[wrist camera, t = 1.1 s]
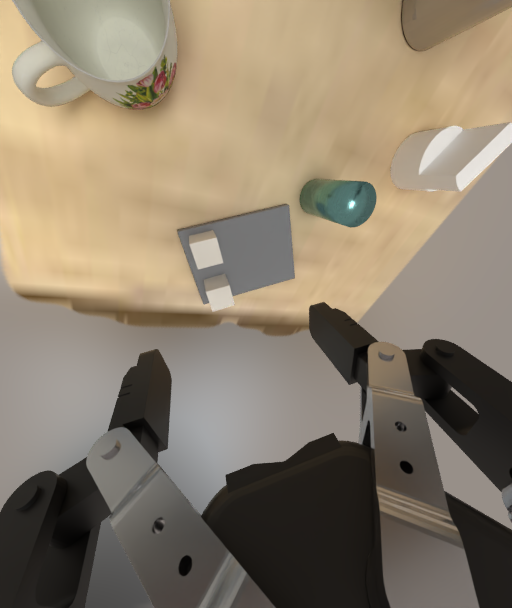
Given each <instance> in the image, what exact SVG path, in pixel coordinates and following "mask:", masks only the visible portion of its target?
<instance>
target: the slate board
mask: <svg viewBox="0 0 512 608" xmlns="http://www.w3.org/2000/svg"><path fill="white" fill-rule="evenodd" d="M211 230H213V231H214V233H215V235H216V237H217V241H218V244H219V248H220V252H221V256H222V259H223V263H221V264H217V265H214V266H210V267H206V268H202V269H199V270H198V268H197V265H196V262H195V259H194V256H193V253H192V251H191V248H190V245H189V236H190V235H194V234H199V233H203V232H207V231H211ZM177 232H178V235H179V238H180V241H181V243H182V246H183V249H184V252H185V254H186V257H187V260H188V263H189V265H190V268H191V271H192V274H193V276H194V279H195V282H196V285H197V287H198V290H199V293H200V296H201V298H202V301H203V304H207V303H209V300H208V297H207V294H206V290H205V285H204V279H207V278H211V277H215V276H218V275H222V274H225V275H226V278H227V280H228V283H229V285H230V289H231V293H232V296H235V295H238V294H242V293H245V292H248V291H252V290H255V289H259V288H262V287H266V286H269V285H273V284H276V283H279V282H283V281H286V280H290V279H293V278H295V274H294V262H293V249H292V237H291V224H290V212H289V205H287V204H284V205H280V206H275V207H271V208H267V209H263V210H259V211H254V212H250V213H246V214H242V215H238V216H233V217H229V218H225V219H221V220H217V221H213V222H208V223H204V224H200V225H196V226H192V227H187V228H183V229H179V230H178V231H177Z"/></svg>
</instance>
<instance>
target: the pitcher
mask: <svg viewBox="0 0 512 608" xmlns="http://www.w3.org/2000/svg"><path fill="white" fill-rule="evenodd" d="M12 1H13V2H14V4H15V5H16V7H17V9H18V10H19V12H20V13H21V15H22V16H23V18H24V19H25V20H26V22H27V23H28V24H29V26H30V27H31V28H32V29H33V31H34V32H35V33H36V34H37V35H38V36H39V37H40V39H41V42H39V43H37V44H35V45H33V46H31V47H29V48H28V49H26V50H25V51H24V52H22V53H21V54H20V55H19V56H18V57H17V59H16V60H15V62H14V65H13V67H12V75H13V78H14V82H15V84H16V85H17V87H18V88H19V89H20V91H21V92H22V93H23V94H24V95H25V96H26V97H27V98H29V99H30V100H31V101H33V102H35V103H37V104H40V105H43V106H49V107H53V106H59V105H63V104H66V103H68V102H71V101H73V100H75V99H77V98H79V97H80V96H82V95H83V94H85V93H86V92H88V91H89V90H91V91H92V92H94V93H95V94H97V95H98V96H100V97H101V98H103V99H104V100H106V101H108V102H110V103H112V104H114V105H117V106H119V107H122V108H127V109H133V110H142V109H147V108H150V107H152V106H154V105H156V104H158V103H159V102H160V101H161V100H162V99H163V98H164V97H165V96H166V94H167V93H168V91H169V89H170V87H171V85H172V83H173V80H174V77H175V72H176V67H177V56H178V53H177V35H176V27H175V22H174V17H173V12H172V9H171V5H170V0H12ZM55 66H67V67H68V69H69V70H70V71H71V72H72V73H73V74H74V75H75V77H73V78H72V79H70V80H68V81H66V82H64V83H62V84H59V85H56V86H53V87H49V88H38V87H36V83H37V81H38V79H39V78H40V77H41V76H42V75H43V74H44V73H45V72H46V71H48V70H49V69H51V68H53V67H55Z"/></svg>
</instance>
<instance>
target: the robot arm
mask: <svg viewBox="0 0 512 608" xmlns="http://www.w3.org/2000/svg"><path fill="white" fill-rule="evenodd" d="M511 7H512V0H404V1H403V9H402V25H403V31H404V35H405V38H406V40H407V42H408V43H409V45H410V46H411V47H412V48H414V49H415V50H419V51H423V50H427V49H429V48H431V47H433V46H435V45H437V44H439V43H441V42H443V41H445V40H447V39H449V38H451V37H453V36H456V35H458V34H460V33H462V32H464V31H465V30H467V29H469V28H471V27H473V26H475V25H477V24H479V23H481V22H483V21H485V20H487V19H489V18H491V17H493V16H495V15H497V14H499V13H501V12H503V11H505V10H507V9H509V8H511ZM309 329H310V333H311V336H312V338H313V339H314V340H315V342H316V343H317V344H318V345H319V347H320V348H321V349H322V351H323V352H324V353H325V354H326V356H327V357H328V358H329V360H330V361H331V362H332V363H333V365H334V366H335V367H336V368H337V370H338V371H339V372H340V374H341V375H342V376H343V377H344V379H345V380H346V381H347V382H348V384H349V385H350V384H353V383H356V382H358V383H359V384H360V386H361V388H360V433H359V443H355V442H350V441H338V440H337V438H336V436H335V435H334V433H332V434H329V435H327V436H324V437H322V438H319V439H317V440H314V441H312V442H309V443H308V444H306V445H305V446H304V447H303V448H301V449H300V450H299V451H298V452H297V453H295V454H294V455H292V456H291V457H290V458H289V459H287V460H286V461H284V462H275V463H262V464H253V465H250V466H248V467H245V468H243V469H240V470H238V471H235V472H232V473H230V474H227V475H226V482H227V485H226V486H224V487H223V488H222V489H221V490H220V491H219V492H218V493H217V494H216V495H215V496H214V498H213V499H212V500H211V501H210V502H209V504H208V506H207V507H206V509H205V510H204V512H203V514H202V516H201V515H200V513H199V512H198V511H197V510H196V509H195V507H194V506H193V505H192V504H191V503H190V502H189V500H188V499H187V498H186V497H185V496H184V495H183V493H182V492H181V491H180V490H179V489H178V487H177V486H176V485H175V484H174V482H173V481H172V480H171V479H170V478H169V476H168V475H167V474H166V473H165V472H164V471H163V469H162V468H161V467H160V466H159V465H158V464H157V460H158V452H160V451H163V450H166V449H167V448H168V433H169V416H170V400H171V382H172V380H171V374H170V371H169V369H168V367H167V365H166V363H165V362H164V359H163V357H162V355H161V354H160V352H159V350H158V349H155V350H152V351H148V352H144V353H141V354H140V356H139V359H138V363H137V366H134V367H131V368H130V369H129V371H128V372H127V374H126V375H125V376H124V378H123V381H122V385H121V389H120V392H119V395H118V397H119V398H118V399H117V402H116V405H115V408H114V412H113V415H112V419H111V422H110V425H109V429H108V432H107V433H105V434H104V435H103V436H101V437H100V438H99V439H98V440H97V441H96V442H95V444H94V445H93V447H92V448H91V449H90V451H89V453H88V456H87V457H86V458H85V459H83V460H82V461H80V462H79V463H77V464H75V465H74V466H72V467H71V468H69V469H67V470H66V471H64V472H62V473H61V474H59V475H57V474H56V473H54V472H52V471H44V472H40V473H38V474H36V475H34V476H32V477H31V478H30V479H28V480H27V481H25V482H24V483H23V484H22V485H21V486H19V487H18V488H17V489H16V491H14V493H13V494H12V495H11V496H10V497H9V499H8V500H7V502H6V503H5V504H4V506H3V508H2V510H1V512H0V608H85V602H86V596H87V592H88V587H89V581H90V576H91V571H92V566H93V561H94V556H95V551H96V545H97V540H98V535H99V530H100V525H101V521H103V520H104V519H105V518H107V517H108V516H109V515H110V514H112V515H111V516H110V518H109V519H110V523H111V525H112V528H113V529H114V531H115V533H116V535H117V537H118V539H119V541H120V543H121V545H122V547H123V549H124V551H125V552H126V554H127V556H128V558H129V560H130V562H131V564H132V566H133V568H134V570H135V572H136V574H137V575H138V577H139V579H140V581H141V583H142V585H143V587H144V589H145V591H146V593H147V595H148V596H149V598H150V600H151V602H152V604H153V606H154V608H512V530H511V529H509V528H507V527H506V526H504V525H502V524H501V523H499V522H497V521H495V520H494V519H492V518H490V517H489V516H487V515H485V514H483V513H482V512H480V511H478V510H476V509H475V508H473V507H471V506H470V505H468V504H466V503H464V502H463V501H461V500H459V499H458V498H456V497H454V496H452V495H451V494H449V493H447V492H445V491H444V489H443V484H442V480H441V476H440V472H439V468H438V464H437V459H436V456H435V451H434V447H433V443H432V439H431V434H430V430H429V426H428V422H427V418H426V413H425V411H426V412H427V413H428V414H429V415H430V416H431V417H432V419H433V420H434V421H435V422H436V423H437V424H438V425H439V426H440V427H441V428H442V429H443V430H444V431H445V432H446V434H447V435H448V436H449V437H450V438H451V439H452V440H453V441H454V442H455V443H456V444H457V445H458V446H459V447H460V448H461V450H462V451H463V452H464V453H465V454H466V455H467V456H468V457H469V458H470V459H471V460H472V461H473V462H474V463H475V464H476V465H477V467H478V468H479V469H480V470H481V471H482V472H483V473H484V474H485V475H486V476H487V477H488V478H489V479H490V480H491V482H492V483H493V484H494V485H495V486H496V487H497V488H498V489H499V490H500V491H501V492H502V499H503V502H504V504H505V506H506V508H507V510H508V511H509V512H508V516H509V519H510V520H511V522H512V382H511V381H509V380H508V379H506V378H505V377H503V376H502V375H500V374H499V373H497V372H496V371H495V370H493V369H492V368H490V367H489V366H487V365H486V364H484V363H483V362H481V361H480V360H478V359H477V358H475V357H474V356H472V355H471V354H470V353H468V352H467V351H465V350H464V349H462V348H461V347H459V346H458V345H456V344H454V343H451V342H449V341H445V340H440V339H431V340H428V341H426V342H425V343H424V345H423V348H422V349H415V350H402V349H400V348H399V347H397V346H395V345H393V344H391V343H387V342H378V341H377V340H376V339H375V338H374V337H372V336H371V335H370V334H369V333H368V332H367V331H366V330H364V329H363V328H362V327H361V326H360V325H359V324H357V323H356V322H355V321H354V320H353V319H351V317H350V316H348V315H347V314H346V313H345V312H343V311H341V310H338V309H336V308H335V309H332V308H330V307H329V306H328V305H327V304H326V303H325V302H322V303H318V304H315V305H311V306H310V308H309ZM451 387H453V388H454V389H456V391H458V392H459V393H460V394H461V395H462V396H463V397H465V398H466V399H467V400H468V401H469V402H471V403H472V404H473V405H474V406H475V408H476V409H477V411H478V413H479V414H478V413H477V412H475V411H474V410H473V409H472V408H471V407H470V406H469V405H467V404H466V403H465V402H464V401H463V400H462V399H461V398H459V397H458V396H457V395H456V394H455V393H454V392H453V391H451V390H450V389H451Z"/></svg>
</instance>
